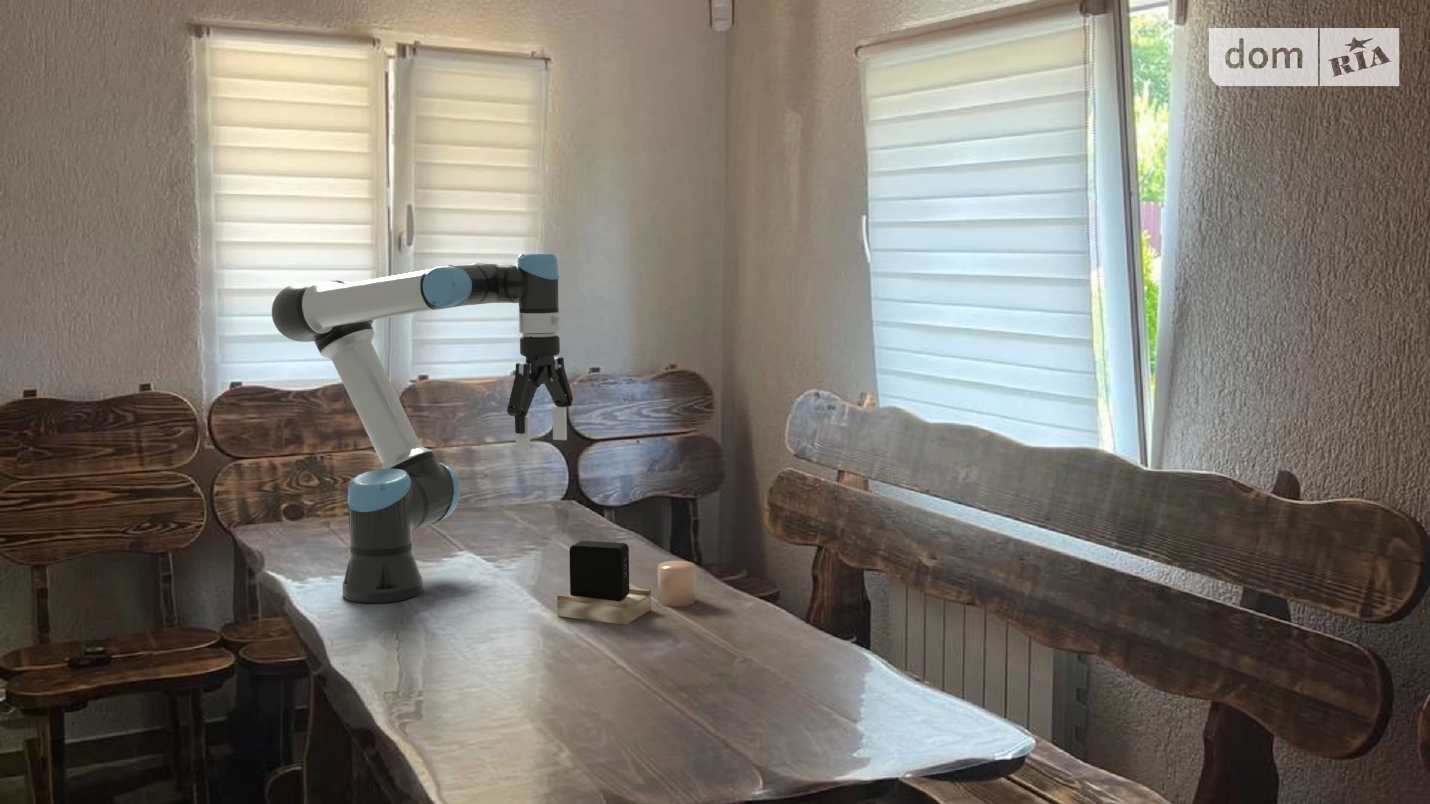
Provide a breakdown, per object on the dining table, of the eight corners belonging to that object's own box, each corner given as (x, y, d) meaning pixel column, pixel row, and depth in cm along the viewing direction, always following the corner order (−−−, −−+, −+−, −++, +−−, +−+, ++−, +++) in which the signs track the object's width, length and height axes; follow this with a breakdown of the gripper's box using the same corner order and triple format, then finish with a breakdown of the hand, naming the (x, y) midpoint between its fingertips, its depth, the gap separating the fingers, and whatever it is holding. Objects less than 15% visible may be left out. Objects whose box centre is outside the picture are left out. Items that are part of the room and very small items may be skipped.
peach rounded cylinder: (652, 604, 245) (651, 568, 244) (668, 594, 252) (667, 559, 251) (685, 608, 243) (685, 571, 242) (701, 598, 249) (701, 562, 248)
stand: (557, 615, 238) (557, 595, 238) (584, 601, 247) (584, 581, 247) (625, 624, 232) (625, 604, 232) (650, 609, 242) (650, 589, 241)
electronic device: (622, 602, 236) (621, 548, 234) (570, 598, 238) (569, 545, 237) (629, 596, 240) (628, 543, 238) (578, 592, 242) (577, 540, 241)
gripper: (521, 340, 236) (524, 456, 239) (588, 330, 258) (590, 436, 261) (486, 339, 239) (489, 453, 241) (556, 329, 261) (558, 434, 264)
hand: (542, 445), depth 251 cm, fingers open, 13 cm apart
